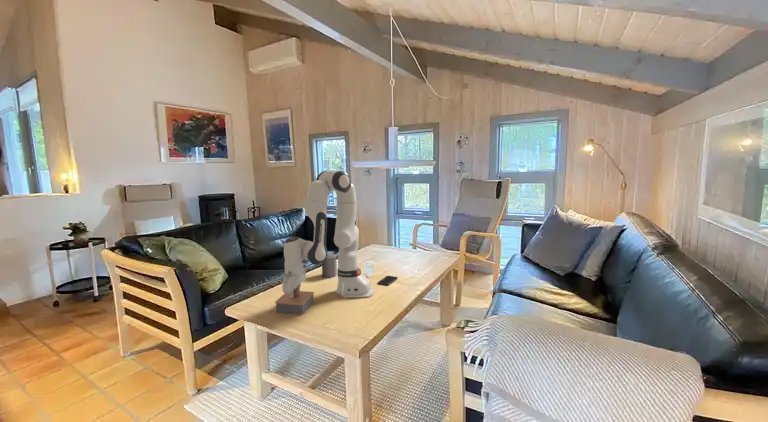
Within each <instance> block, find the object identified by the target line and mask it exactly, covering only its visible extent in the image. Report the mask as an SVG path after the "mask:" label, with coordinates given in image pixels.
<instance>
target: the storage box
mask: <svg viewBox="0 0 768 422" xmlns="http://www.w3.org/2000/svg"><path fill="white" fill-rule="evenodd" d="M314 302H315V301H314V294H313V295H312V296H311V297H310V298H309V300H308V301H307V302H306V303H305V304H304V305H290V304H275V305H276V306H275V307H276V313H277V314H290V315H291V314H292V315H304V314H305V313H306V312H307V311H308V309H310V307H311V306H312V305H314Z"/></svg>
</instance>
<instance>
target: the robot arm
mask: <svg viewBox="0 0 768 422" xmlns="http://www.w3.org/2000/svg"><path fill="white" fill-rule="evenodd" d="M331 192H335V194H336V219H335V220H336V221H335V227H334V236H333V242H334V245H335V246H336V247H337V248H338V252H337V264H338V265H337V275H336V276H337V286H336V290H335V291H336V294H338V295H340V296H341V297H343V298H351V299H352V298H356V299H357V298H370V297H372V296H374V294H375V291H376V289H375V287H374V286H372V284H371V281H370V280H369V278H367V277H366V276H364V275H363V274H362V272H361V271H362V268H359V267H358V249H359V238H360V237H359V236H360V230H359V227H358V226H357V225H356V220H357V219H356V218H357V194H356V193H357V192H356V188H355V185H354V184H353V183H352V181H351V177H350V175H349V173H347V172H345V171H344V170H337V169H336V170H335V169H332V170H323V171H321V172H319V174H318V175H317V177H316V179H315V180H313V181H311V183H310V184H309V187H308V190H307V194H306V198H305V199H306V200H305V203H304V204H305V205H304V207H305V208H304V210H305V214H306V215H307V217H309V218H310V220H311V221H312V224H313V228H314V229H313V241H311V240H306V239H303V238H300V237H299V236H291V237H288V238H286V240H285V241H284V244H283V257H284V274H285V275H284V277H283V279H282V292H283V294H285V293H289V294H290V297H291V298H293V297H294V296H295V293H293V291H294V289H295V288H299V292H300V291H301V285H302V283H303V282H305V280H306V277H307V276H306V275H307V274H306V273H307V272H306V268H307V264H306V263H305V262H304V261H305V260H306V261H308V262H309V263H311V264H312V265H314V266H315V265H317V266H318V265H322V263H323V262H324V261H325V259H326V257H327V254H328V250H327V249H328V248H327V231H328V216H327V208H328V200H329V195H330V193H331ZM303 262H304V263H303Z"/></svg>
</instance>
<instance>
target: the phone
mask: <svg viewBox="0 0 768 422" xmlns="http://www.w3.org/2000/svg"><path fill="white" fill-rule="evenodd" d="M397 280H398V277H397V276H393V275H386V276H384V277H383V278H382V279H380V280H379V281H378V282H377V283H376V284H377V285H379V286H385V287H388V286H390V285H392V284H393V283H394V282H395V281H397Z"/></svg>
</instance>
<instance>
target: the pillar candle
mask: <svg viewBox="0 0 768 422" xmlns="http://www.w3.org/2000/svg"><path fill="white" fill-rule="evenodd" d="M337 264H338V260H337V254H335V253H327V257H326V259H325V261H324V262H323V263H321V276H322V277H323V278H326V279H329V278H335V277H336V276H338V275H337V271H338V265H337Z"/></svg>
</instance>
